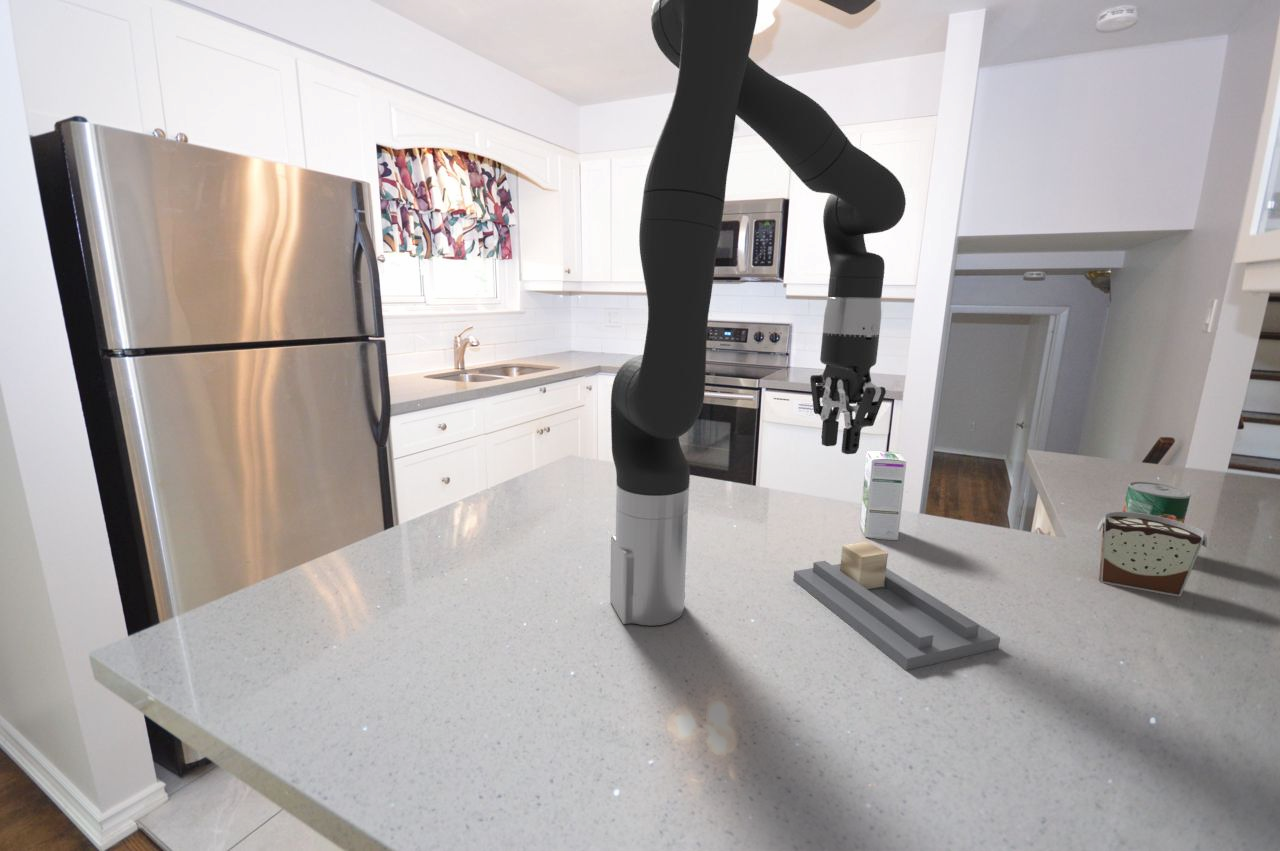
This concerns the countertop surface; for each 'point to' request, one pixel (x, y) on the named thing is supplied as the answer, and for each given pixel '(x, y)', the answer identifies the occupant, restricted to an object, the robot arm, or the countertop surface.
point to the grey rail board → (898, 617)
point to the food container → (1148, 552)
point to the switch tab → (864, 564)
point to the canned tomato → (1157, 500)
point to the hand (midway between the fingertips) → (838, 448)
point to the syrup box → (882, 495)
